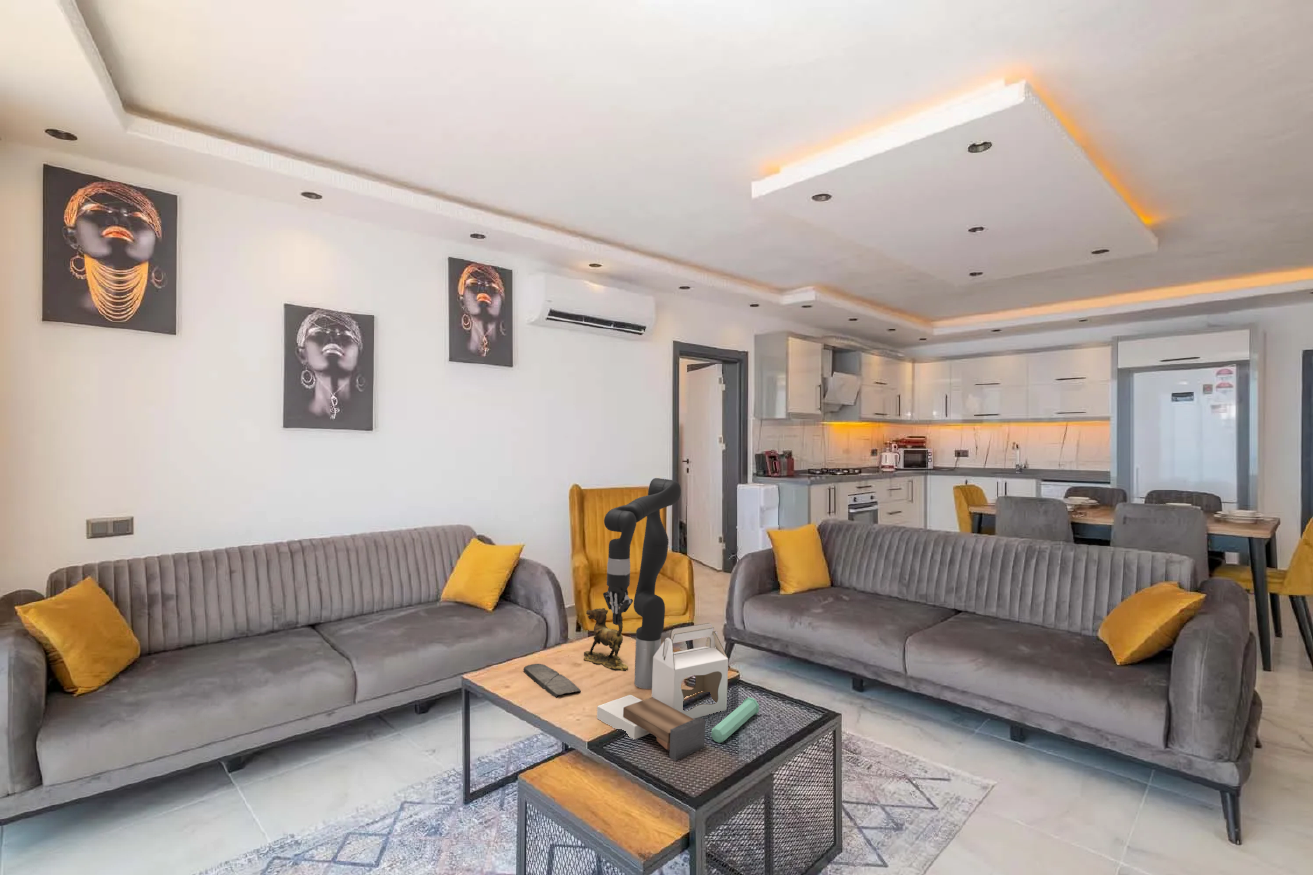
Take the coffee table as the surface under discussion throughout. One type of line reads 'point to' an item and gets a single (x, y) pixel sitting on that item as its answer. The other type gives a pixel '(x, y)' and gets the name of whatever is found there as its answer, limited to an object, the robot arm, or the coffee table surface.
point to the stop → (687, 738)
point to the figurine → (605, 642)
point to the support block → (663, 743)
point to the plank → (655, 717)
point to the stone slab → (550, 679)
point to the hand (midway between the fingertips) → (616, 624)
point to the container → (735, 720)
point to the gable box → (691, 670)
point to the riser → (620, 716)
